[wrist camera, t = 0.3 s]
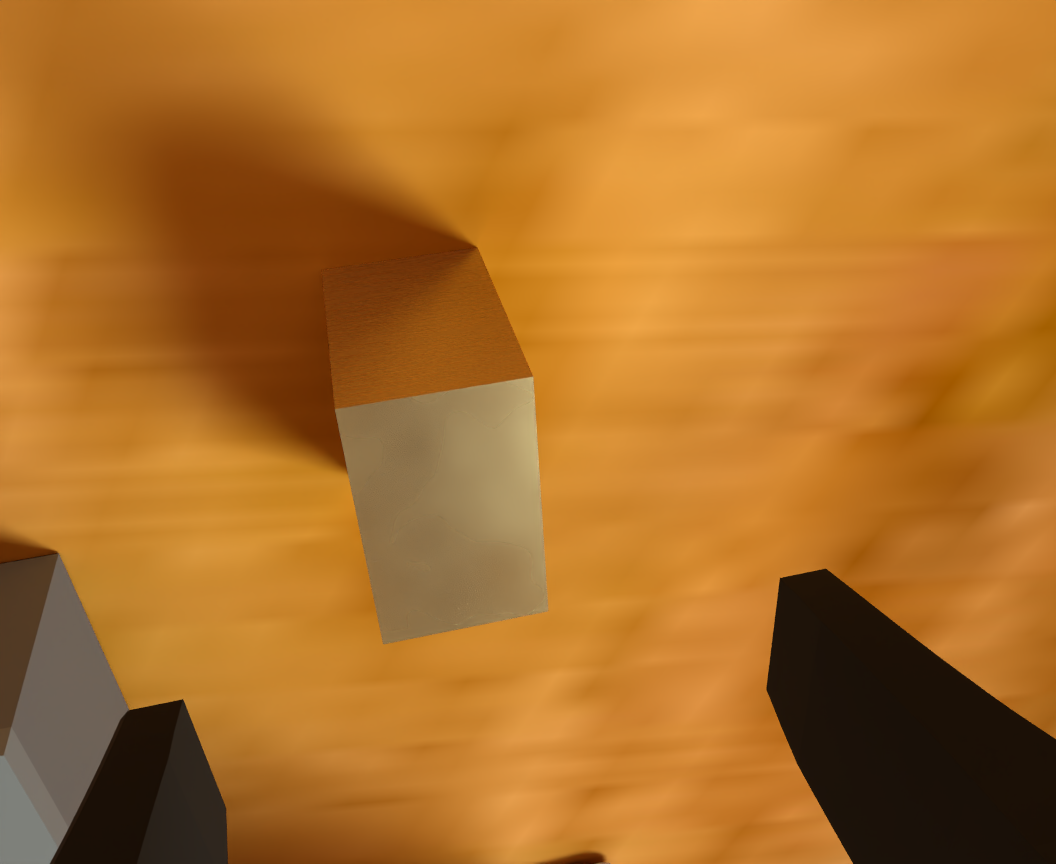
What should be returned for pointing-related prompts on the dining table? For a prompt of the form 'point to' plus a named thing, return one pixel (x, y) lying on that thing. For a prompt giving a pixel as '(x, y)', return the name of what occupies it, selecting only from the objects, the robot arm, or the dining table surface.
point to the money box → (48, 707)
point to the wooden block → (437, 442)
